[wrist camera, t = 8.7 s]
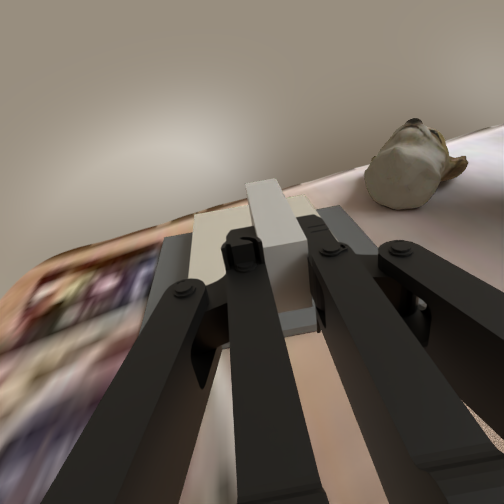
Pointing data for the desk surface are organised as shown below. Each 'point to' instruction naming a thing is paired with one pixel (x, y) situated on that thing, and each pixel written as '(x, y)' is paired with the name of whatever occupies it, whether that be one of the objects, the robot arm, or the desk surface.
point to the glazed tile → (214, 235)
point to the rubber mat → (292, 322)
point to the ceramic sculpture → (411, 167)
